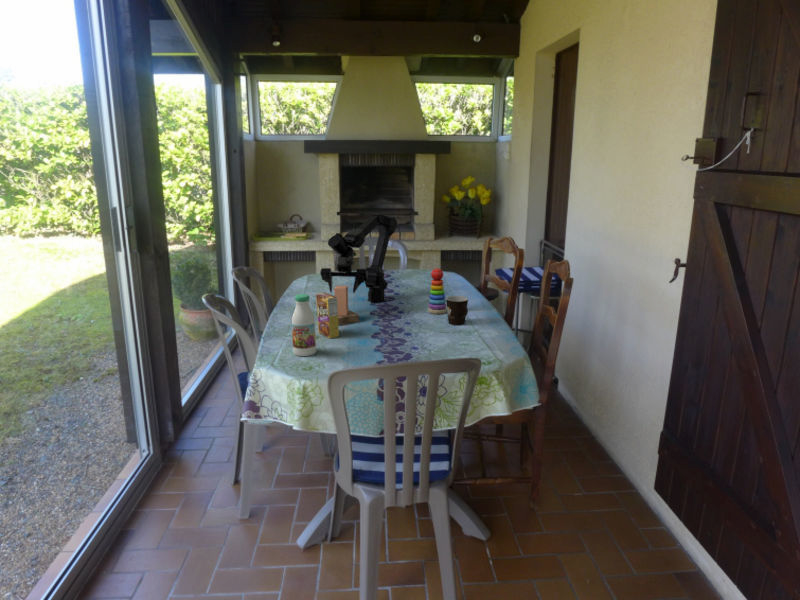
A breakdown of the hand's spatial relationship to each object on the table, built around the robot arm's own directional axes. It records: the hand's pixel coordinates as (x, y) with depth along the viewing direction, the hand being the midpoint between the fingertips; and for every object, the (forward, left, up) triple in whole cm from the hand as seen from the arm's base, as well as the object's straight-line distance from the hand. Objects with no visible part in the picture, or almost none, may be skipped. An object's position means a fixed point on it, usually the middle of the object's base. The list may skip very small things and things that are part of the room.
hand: (342, 292), depth 221 cm
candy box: (+13, +14, -12) cm, 23 cm away
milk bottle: (+28, +27, -12) cm, 41 cm away
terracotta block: (+1, +1, -8) cm, 9 cm away
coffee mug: (-35, +30, -12) cm, 47 cm away
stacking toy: (-39, +12, -12) cm, 42 cm away
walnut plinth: (+1, +1, -11) cm, 12 cm away
